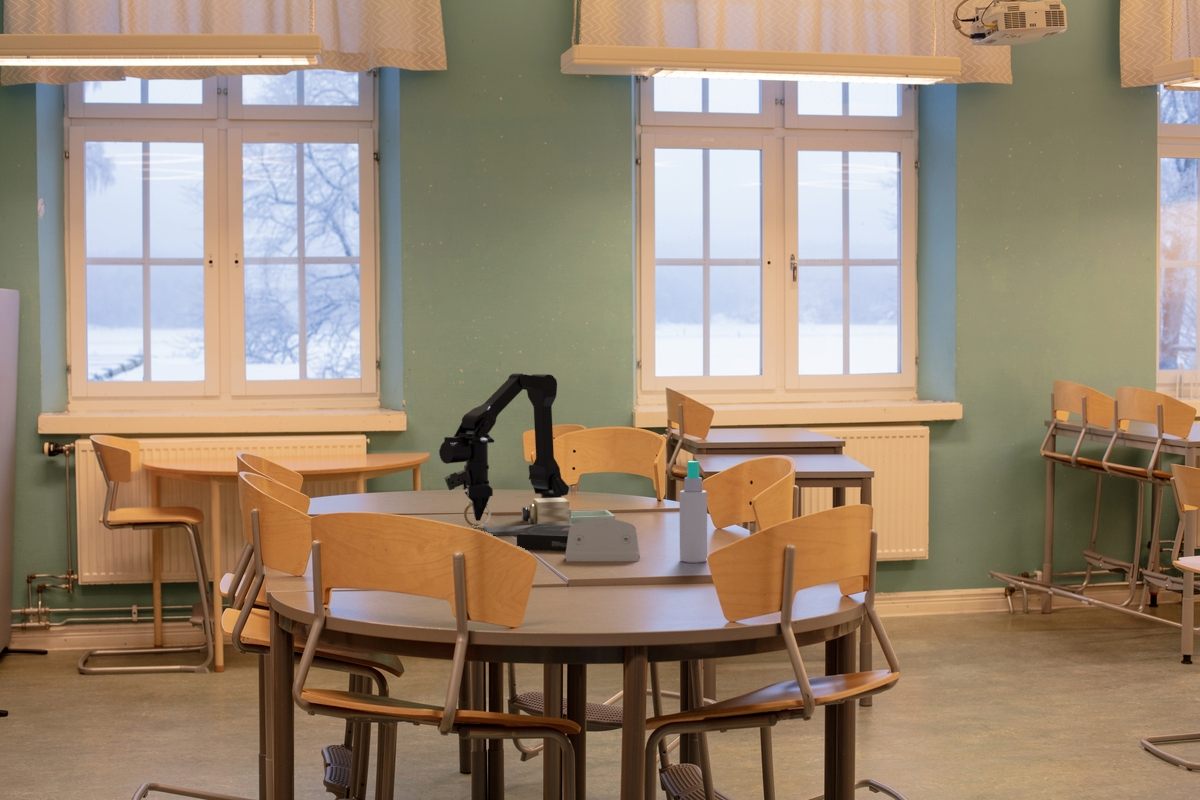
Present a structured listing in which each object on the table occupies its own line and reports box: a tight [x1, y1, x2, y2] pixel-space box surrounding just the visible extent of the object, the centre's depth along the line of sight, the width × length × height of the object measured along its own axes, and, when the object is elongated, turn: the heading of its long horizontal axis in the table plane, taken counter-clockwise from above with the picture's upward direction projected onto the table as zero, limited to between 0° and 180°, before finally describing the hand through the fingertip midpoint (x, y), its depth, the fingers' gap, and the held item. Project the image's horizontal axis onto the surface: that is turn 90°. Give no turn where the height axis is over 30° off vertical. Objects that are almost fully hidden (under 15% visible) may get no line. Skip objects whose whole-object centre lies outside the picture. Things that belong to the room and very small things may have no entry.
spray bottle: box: [679, 460, 708, 564], centre depth 260 cm, size 6×6×22 cm
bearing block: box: [483, 497, 576, 537], centre depth 303 cm, size 26×9×8 cm, turn 101°
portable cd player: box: [516, 524, 571, 552], centre depth 283 cm, size 16×17×4 cm
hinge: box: [564, 519, 641, 562], centre depth 265 cm, size 17×5×10 cm, turn 88°
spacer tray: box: [569, 509, 616, 524], centre depth 317 cm, size 11×12×2 cm
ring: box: [463, 500, 492, 529], centre depth 310 cm, size 7×3×8 cm, turn 92°
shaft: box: [521, 503, 572, 525], centre depth 304 cm, size 12×5×5 cm, turn 101°
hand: (477, 519), depth 310 cm, fingers closed on ring, 2 cm apart
